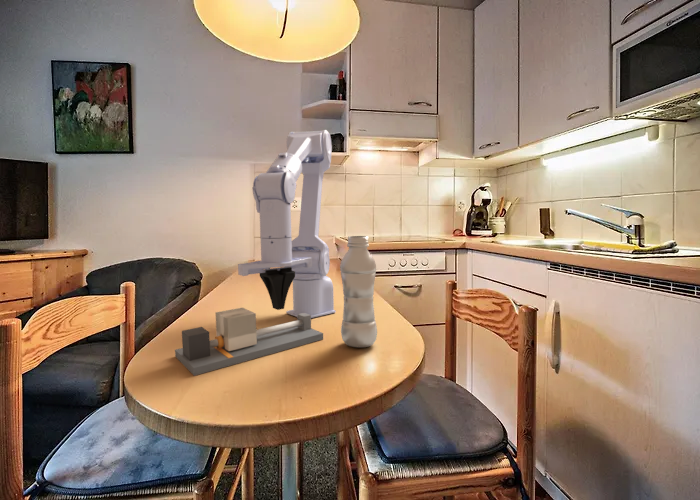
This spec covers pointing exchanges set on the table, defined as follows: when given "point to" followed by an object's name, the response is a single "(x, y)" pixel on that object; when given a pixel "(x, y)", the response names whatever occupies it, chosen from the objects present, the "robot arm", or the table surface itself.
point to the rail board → (213, 355)
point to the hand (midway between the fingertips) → (278, 308)
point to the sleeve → (236, 328)
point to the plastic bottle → (358, 294)
